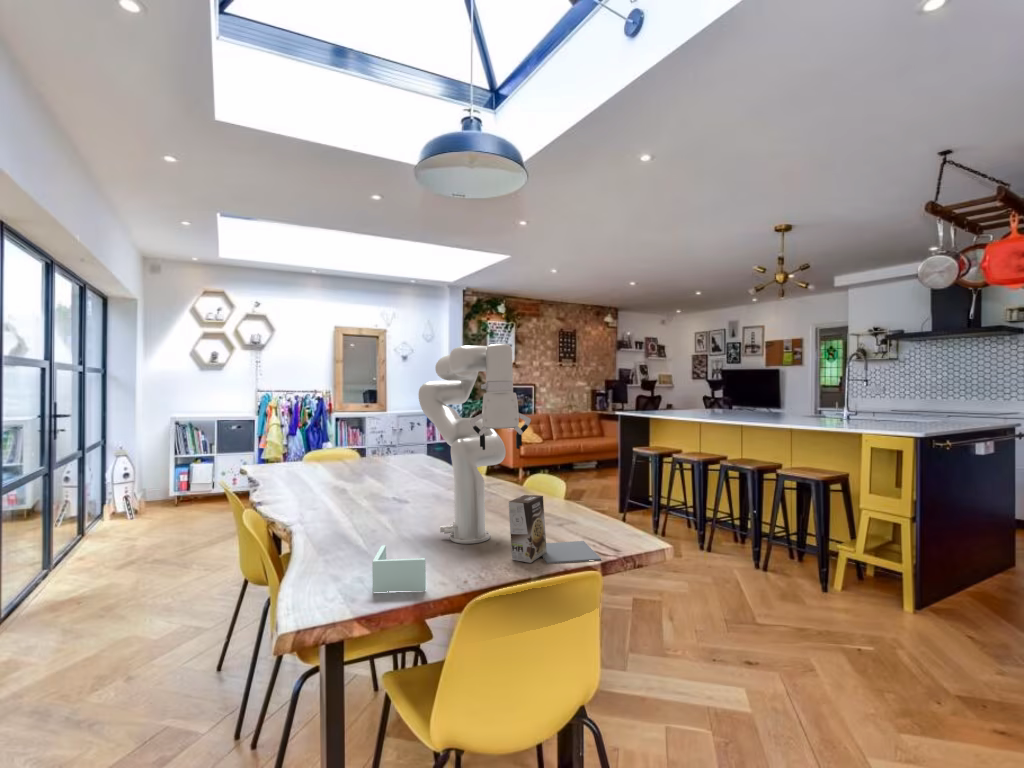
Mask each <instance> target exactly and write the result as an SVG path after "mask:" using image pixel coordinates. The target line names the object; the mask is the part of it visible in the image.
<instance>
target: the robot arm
mask: <svg viewBox="0 0 1024 768" xmlns="http://www.w3.org/2000/svg"><path fill="white" fill-rule="evenodd" d="M512 348H513V347H512V346H511V345H510V344H507V343H494V344H493V343H492V344H489V345H461V346H458V347H454V348H453V349H452V350H451V351H450V354H447V355H445V356H443V357H440V358H439V359H438V360H437V362H436V363H435V373H436V374H437V376H438V377H439V379H442V380H431V381H427V382H425V383H423V384H422V385H421V386H420V387H419V389H418V393H417V395H418V401H419V402H418V403H419V406H420V408H421V410H422V412H423V414H424V415H425V417H427V419H428V420H429V421H430V422H431V423H432V424H433V425H434V426H435V427H436V429H437V431H438V433H439V434H440V435H441V437H442V438H443V440H444V441H445V442H446V444H447V445H449V446H450V457H451V463H452V469H453V487H454V488H453V490H454V491H453V492H454V494H453V495H454V497H453V498H454V500H453V501H454V502H453V503H454V506H453V507H454V521H452V522H453V523H452V524H450V525H440V526H439V532H440V533H443V534H444V535H445V534H449V540H450V541H452V542H453V543H456V544H463V545H467V544H468V545H469V544H471V545H472V544H478V543H484V542H486V541H488V540H489V539H491V533H490V532H489V531H487V530H486V506H485V505H486V502H485V500H486V498H485V497H486V495H485V494H486V493H485V492H486V491H485V490H486V489H485V486H486V485H485V479H484V476H483V475H482V473H481V472H480V471H479V469H478V468H480V467H489V466H494V465H495V466H496V465H499V464H501V463H502V462H503V461H504V459H505V458H506V455H507V454H506V453H507V451H506V446H505V444H504V441H503V440H502V438H501V437H500V435H499V434H498V432H497V431H496V430H497V429H499V430H500V429H514V431H515V432H516V434H515V448H516V449H517V450H520V449H521V447H520V446H522V445H523V444H522V443H523V441H522V440H523V438H522V437H523V436H522V435H523V433H524V432H525V431H527V429H528V427H529V426H530V423H532V422H531V421H532V418H531V417H528V416H526V415H524V414H522V413H520V412H519V403H518V398H517V397H518V396H517V393H516V392H514V377H513V375H514V374H513V371H514V370H513V349H512ZM479 372H485V374H486V375H485V383H483V384H480V388H481V390H485V392H484V393H483V397H482V404H481V405H482V406H481V407H482V408H481V409H482V412H481V413H479V414H478V415H476V416H474V417H461V416H460V415H459V414H458V412H457V411H456V410H455V409H454V408H452V407H451V406H449V405H461V404H464V403H466V402H467V401H468V399H469V398H470V394H471V393H472V390H473V389H474V385H475V384H476V381H477V378H478V375H479ZM519 419H521V420H523V421H524V423H523V425H522V426H521V427H519V425H520V421H519Z"/></svg>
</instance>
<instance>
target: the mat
mask: <svg viewBox="0 0 1024 768" xmlns="http://www.w3.org/2000/svg"><path fill="white" fill-rule="evenodd" d="M546 548H547V552H546V553H545V554H543V555H542V556H541V557H542V559H543V558H544V559H543V560H544V562H545V561H546V562H545V564H547V565H549V564H548V563H555V564H566V563H567V562H570V563H580V561H584V562H590V561H589V560H599V561H602V557H601V556H599V555H598V554H597V552H595V551H594V550H593V549H592V548H591V546H590V545H588V543H586V541H585V540H577V541H576V540H575V541H560V542H559V541H558V542H546ZM565 562H566V563H565ZM567 564H568V563H567Z"/></svg>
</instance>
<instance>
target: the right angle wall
mask: <svg viewBox="0 0 1024 768" xmlns="http://www.w3.org/2000/svg"><path fill="white" fill-rule="evenodd" d="M371 564H372V567H371V568H372V570H371V571H372V593H373V592H387V591H388V592H389V591H425V590H426V591H427V587H426V573H427V572H426V571H427V569H426V558H425V557H422V558H421V557H420V558H419V557H418V558H397V559H396V558H395V559H387V545H386V544H381V546H380V548H379V550H378V551H377V553H376V554H375V557H374V558H373V560H372V563H371Z"/></svg>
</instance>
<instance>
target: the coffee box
mask: <svg viewBox="0 0 1024 768" xmlns="http://www.w3.org/2000/svg"><path fill="white" fill-rule="evenodd" d="M544 506H545V505H544V495H537V494H536V495H535V494H532V495H531V494H530V495H529V494H524V495H522V496H519V497H516V498H515V499H512V500H510V501H508V515H509V531H510V547H511V548H510V549H511V559H512V561H517V562H525V563H533V562H535V561H536V560H538V559H539V558H541V557H542V555H543V554H545V553H546V552H547V548H546V543H547V537H546V536H547V535H546V520H545V507H544Z"/></svg>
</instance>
